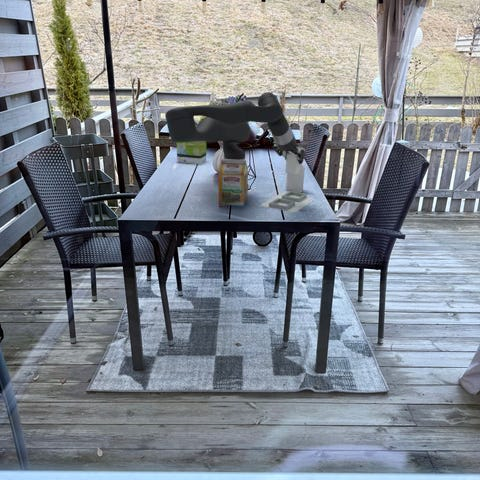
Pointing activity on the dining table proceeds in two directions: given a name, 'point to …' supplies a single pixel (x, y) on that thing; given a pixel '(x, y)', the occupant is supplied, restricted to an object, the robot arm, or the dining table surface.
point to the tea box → (191, 152)
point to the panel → (288, 201)
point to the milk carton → (233, 182)
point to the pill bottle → (295, 181)
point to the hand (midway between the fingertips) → (295, 161)
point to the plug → (292, 164)
